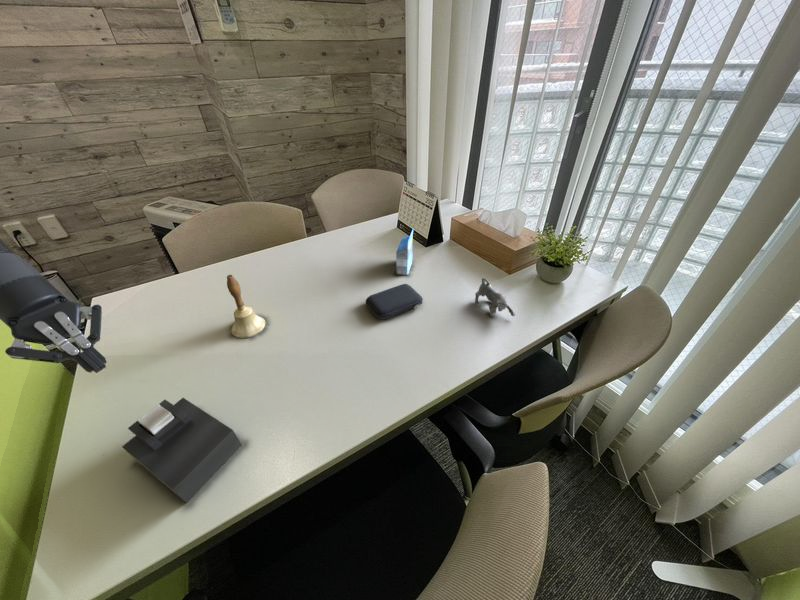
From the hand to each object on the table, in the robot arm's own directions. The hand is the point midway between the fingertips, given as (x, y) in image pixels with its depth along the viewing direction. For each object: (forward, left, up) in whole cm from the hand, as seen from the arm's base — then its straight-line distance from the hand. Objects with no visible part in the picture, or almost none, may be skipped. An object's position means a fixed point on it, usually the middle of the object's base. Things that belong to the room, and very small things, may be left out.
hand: (101, 369), depth 54 cm
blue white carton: (+66, +37, -16) cm, 77 cm away
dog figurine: (+82, +9, -16) cm, 84 cm away
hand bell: (+18, +23, -16) cm, 33 cm away
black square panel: (+9, -9, -16) cm, 21 cm away
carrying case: (+57, +19, -16) cm, 62 cm away
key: (+6, -6, -9) cm, 13 cm away
